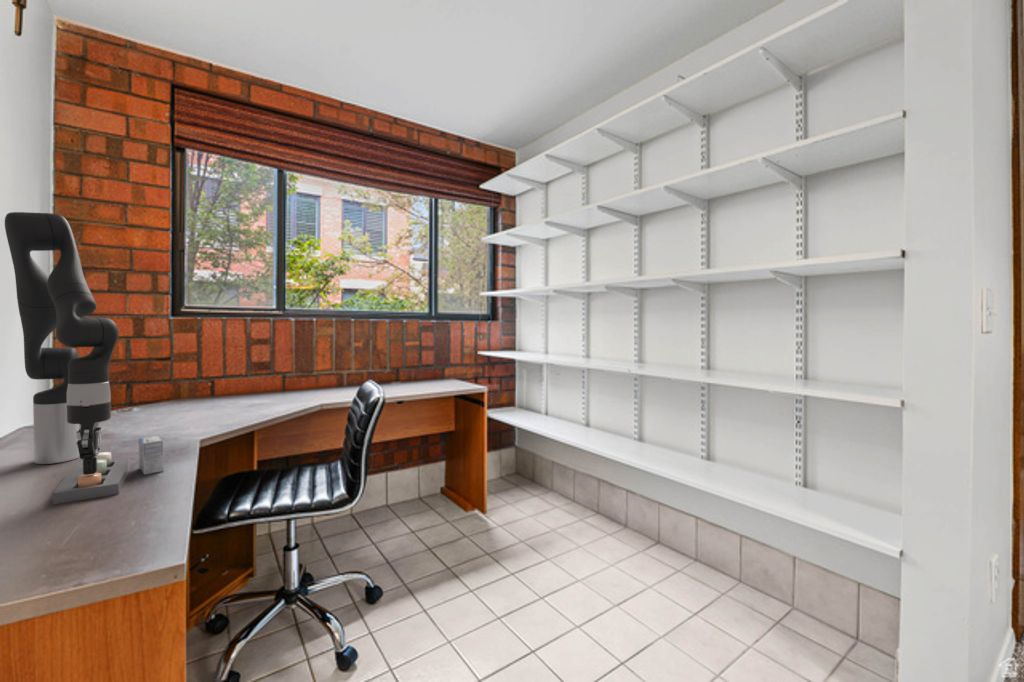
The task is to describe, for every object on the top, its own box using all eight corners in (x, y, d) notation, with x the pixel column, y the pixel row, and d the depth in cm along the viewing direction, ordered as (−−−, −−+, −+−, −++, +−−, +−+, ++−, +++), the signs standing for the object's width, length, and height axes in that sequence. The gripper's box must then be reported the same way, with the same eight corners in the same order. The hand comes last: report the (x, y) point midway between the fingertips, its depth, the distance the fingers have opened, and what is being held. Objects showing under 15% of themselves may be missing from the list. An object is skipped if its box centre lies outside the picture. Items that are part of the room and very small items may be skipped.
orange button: (80, 487, 105) (79, 474, 105) (102, 483, 107) (102, 471, 107) (76, 492, 101) (76, 479, 101) (99, 488, 104) (99, 476, 104)
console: (75, 474, 117) (75, 465, 117) (130, 467, 124) (130, 458, 124) (52, 504, 98) (52, 493, 98) (118, 494, 104) (118, 483, 104)
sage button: (86, 472, 111) (86, 461, 111) (107, 469, 113) (107, 458, 113) (83, 477, 108) (83, 465, 108) (105, 474, 110) (105, 462, 110)
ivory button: (92, 464, 117) (92, 453, 117) (112, 462, 120) (112, 451, 120) (89, 468, 114) (89, 457, 114) (110, 465, 117) (109, 454, 117)
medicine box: (164, 471, 121) (163, 440, 120) (143, 475, 117) (142, 443, 117) (159, 465, 126) (158, 435, 126) (138, 468, 123) (138, 438, 123)
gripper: (73, 398, 107) (74, 468, 107) (60, 407, 96) (61, 485, 97) (114, 396, 111) (115, 463, 112) (106, 404, 101) (107, 478, 101)
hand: (90, 473), depth 104 cm, fingers closed
